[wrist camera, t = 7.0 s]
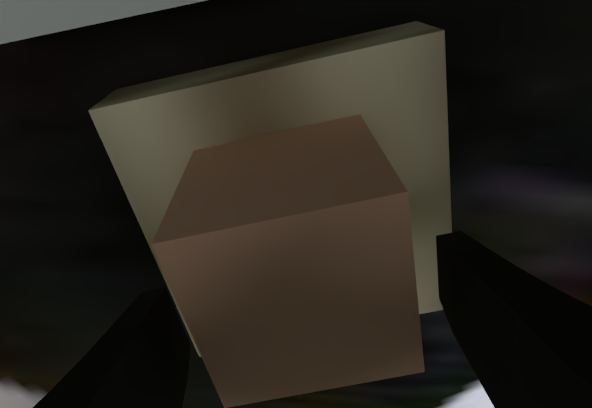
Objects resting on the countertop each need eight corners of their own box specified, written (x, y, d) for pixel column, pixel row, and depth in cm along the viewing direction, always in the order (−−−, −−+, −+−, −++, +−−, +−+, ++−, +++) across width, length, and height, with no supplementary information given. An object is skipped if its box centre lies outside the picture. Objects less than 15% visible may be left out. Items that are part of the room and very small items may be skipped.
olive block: (411, 19, 14) (444, 30, 11) (428, 260, 19) (454, 307, 16) (121, 85, 15) (88, 110, 12) (208, 304, 19) (199, 356, 17)
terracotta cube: (359, 114, 12) (407, 191, 8) (379, 253, 15) (424, 371, 10) (193, 150, 13) (150, 244, 8) (238, 281, 15) (224, 408, 11)
